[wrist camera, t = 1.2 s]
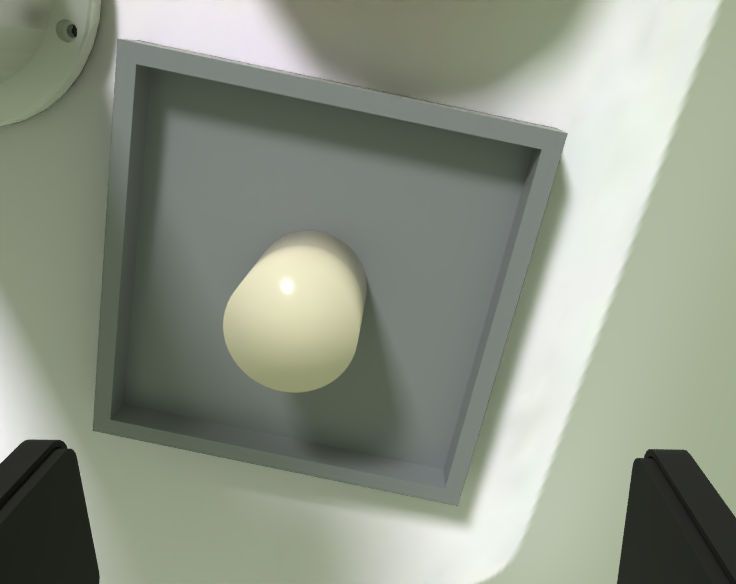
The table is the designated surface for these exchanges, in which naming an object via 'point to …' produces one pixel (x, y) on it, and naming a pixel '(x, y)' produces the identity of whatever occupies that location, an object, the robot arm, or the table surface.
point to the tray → (323, 214)
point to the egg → (298, 313)
